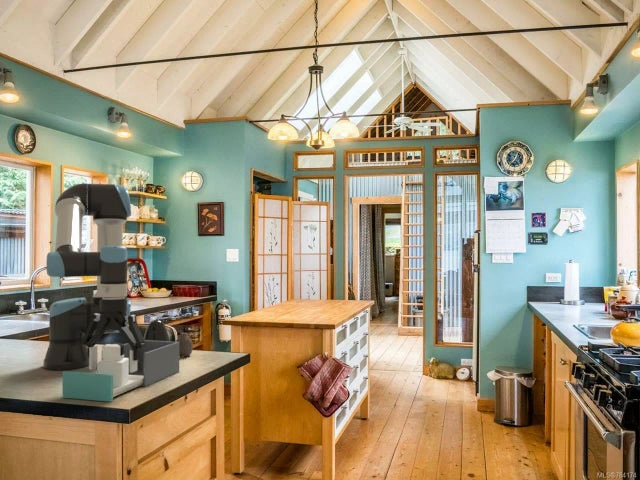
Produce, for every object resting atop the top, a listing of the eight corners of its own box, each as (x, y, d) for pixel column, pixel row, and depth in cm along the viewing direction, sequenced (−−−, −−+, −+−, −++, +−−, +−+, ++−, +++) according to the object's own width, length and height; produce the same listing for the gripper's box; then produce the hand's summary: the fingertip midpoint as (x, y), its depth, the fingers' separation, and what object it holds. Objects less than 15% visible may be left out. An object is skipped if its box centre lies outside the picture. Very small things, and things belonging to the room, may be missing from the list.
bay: (101, 383, 167) (101, 350, 167) (138, 369, 186) (138, 339, 187) (145, 386, 163) (146, 353, 163) (179, 371, 182) (179, 342, 183)
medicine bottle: (104, 381, 164) (105, 341, 164) (128, 381, 164) (129, 341, 164) (96, 387, 157) (96, 346, 157) (121, 387, 157) (121, 345, 157)
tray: (62, 397, 151) (62, 372, 151) (107, 380, 170) (107, 357, 170) (110, 401, 147) (110, 375, 147) (151, 383, 166) (151, 360, 166)
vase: (186, 358, 204) (186, 335, 205) (170, 357, 207) (170, 333, 207) (196, 354, 211) (196, 332, 211) (181, 353, 213) (181, 331, 213)
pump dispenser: (176, 359, 202) (177, 318, 202) (157, 365, 193) (157, 322, 193) (155, 357, 206) (155, 317, 207) (135, 362, 197) (135, 320, 197)
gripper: (68, 297, 160) (68, 370, 160) (143, 300, 154) (143, 375, 154) (86, 295, 168) (85, 364, 167) (158, 298, 161) (157, 369, 161)
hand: (113, 370), depth 161 cm, fingers open, 13 cm apart
